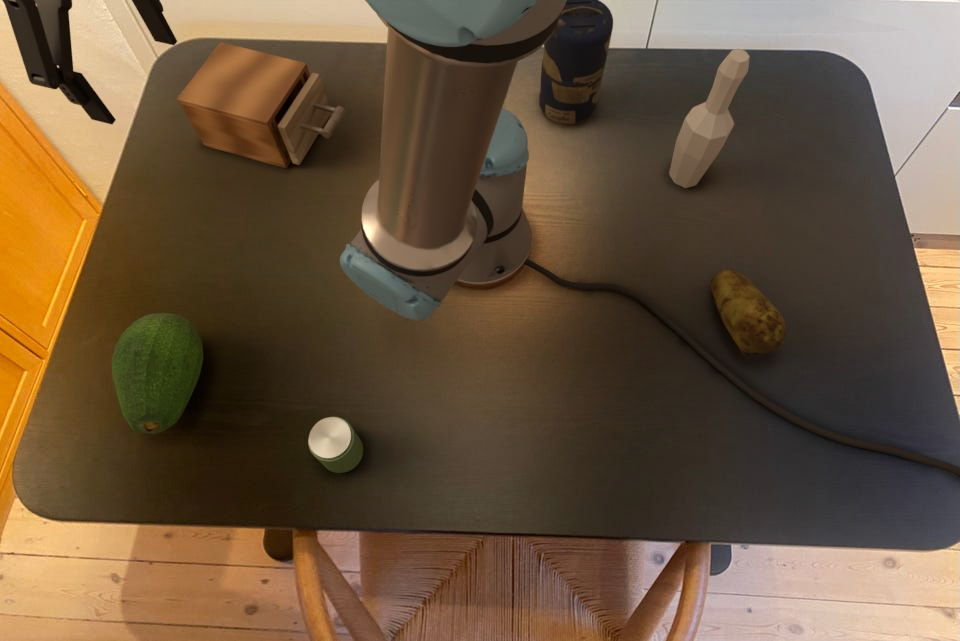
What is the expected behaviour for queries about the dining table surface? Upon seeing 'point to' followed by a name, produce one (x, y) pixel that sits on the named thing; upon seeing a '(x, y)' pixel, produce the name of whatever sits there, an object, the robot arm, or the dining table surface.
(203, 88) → the cabinet
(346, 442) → the can
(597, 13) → the canister
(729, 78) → the bowling pin
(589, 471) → the dining table surface
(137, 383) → the fruit
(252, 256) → the dining table surface
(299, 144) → the drawer
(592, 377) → the dining table surface
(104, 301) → the dining table surface
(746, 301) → the potato
